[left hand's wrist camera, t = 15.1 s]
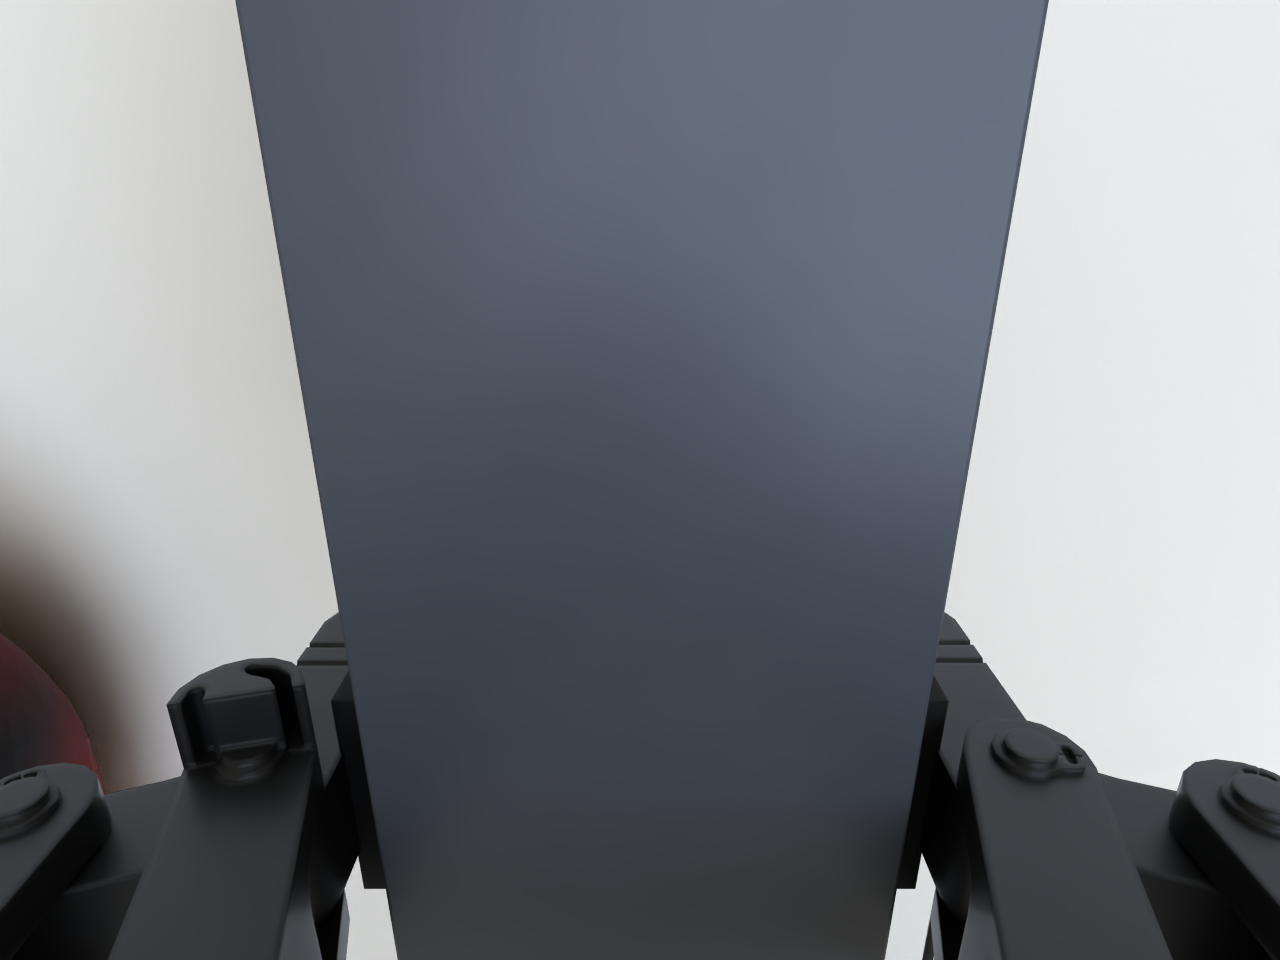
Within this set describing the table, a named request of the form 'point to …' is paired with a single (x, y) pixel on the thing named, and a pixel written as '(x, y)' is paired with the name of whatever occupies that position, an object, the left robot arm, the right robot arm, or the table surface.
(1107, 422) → the table surface
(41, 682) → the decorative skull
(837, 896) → the bar
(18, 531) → the table surface
